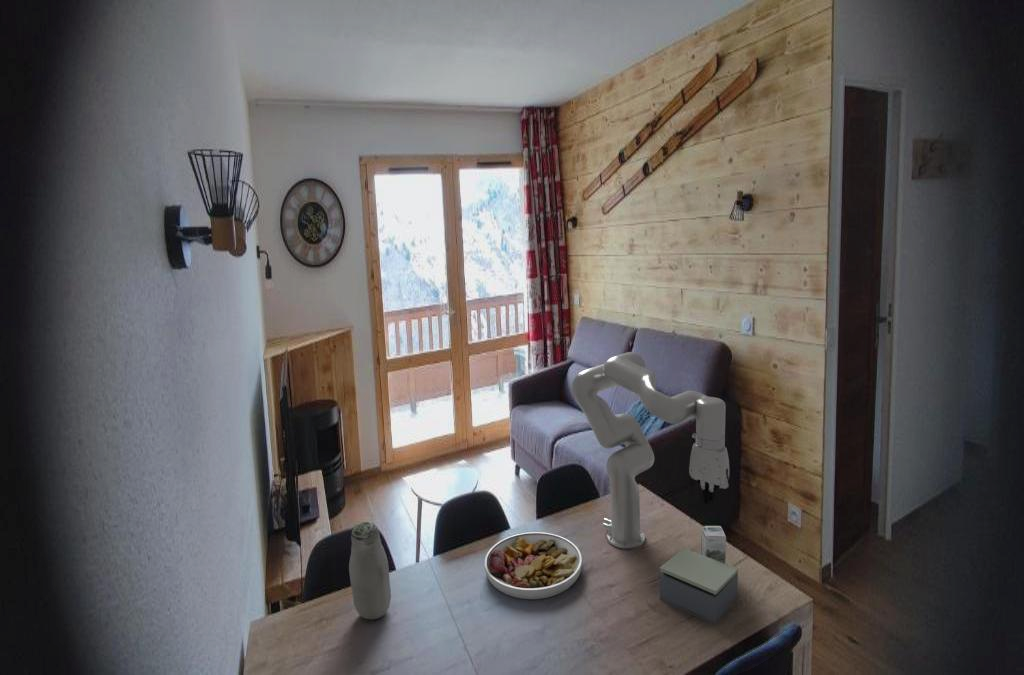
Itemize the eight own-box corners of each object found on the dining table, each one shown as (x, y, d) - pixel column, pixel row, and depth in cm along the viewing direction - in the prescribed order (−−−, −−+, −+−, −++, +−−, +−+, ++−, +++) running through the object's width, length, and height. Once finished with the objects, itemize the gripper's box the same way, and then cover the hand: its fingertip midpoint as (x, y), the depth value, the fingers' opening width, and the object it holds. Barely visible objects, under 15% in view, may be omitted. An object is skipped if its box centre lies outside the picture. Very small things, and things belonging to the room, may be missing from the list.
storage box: (659, 599, 155) (659, 574, 153) (683, 575, 164) (683, 551, 163) (715, 625, 144) (715, 598, 142) (737, 598, 153) (737, 572, 152)
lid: (659, 570, 153) (659, 567, 153) (683, 551, 163) (683, 547, 163) (715, 594, 142) (715, 591, 142) (737, 572, 152) (737, 568, 152)
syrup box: (720, 568, 167) (720, 524, 164) (725, 580, 161) (726, 535, 158) (700, 568, 167) (700, 524, 165) (705, 580, 162) (705, 535, 159)
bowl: (559, 537, 189) (558, 516, 188) (599, 589, 161) (599, 565, 160) (474, 558, 180) (472, 536, 179) (502, 617, 152) (500, 591, 151)
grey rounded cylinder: (349, 623, 153) (336, 531, 148) (371, 599, 162) (360, 512, 157) (378, 630, 149) (367, 537, 144) (399, 606, 159) (389, 517, 153)
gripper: (678, 439, 156) (678, 498, 160) (730, 453, 146) (728, 516, 149) (692, 431, 161) (691, 489, 165) (742, 444, 151) (740, 505, 154)
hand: (708, 501), depth 157 cm, fingers closed
